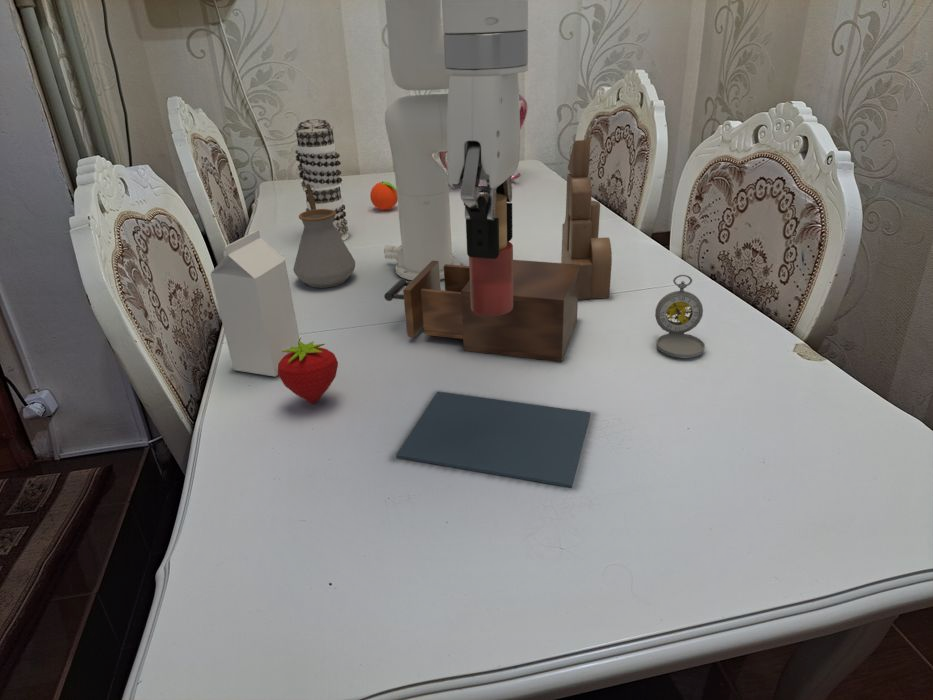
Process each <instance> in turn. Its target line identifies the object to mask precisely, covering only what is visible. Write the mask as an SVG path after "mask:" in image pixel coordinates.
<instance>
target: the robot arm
mask: <svg viewBox="0 0 933 700" xmlns="http://www.w3.org/2000/svg"><path fill="white" fill-rule="evenodd" d="M384 4H385V15H386V30H387V44H388V57H389V67H390V73H391V77H392V81H393V82H394V84H395V85H396V86H397V87H398V88H400V89H402V90H405V91H434V90H435V91H436V90H448V91H447V93H431V94H430V93H429V94H416V95H407V96H403V97H402V96H401V97H399V98H395V99H394V100H393V101H391V102H390V103H389V104H388V106H387V107H386V110H385V113H384V124H385V125H384V126H385V131H386V134H387V138H388V143H389V147H390V151H391V157H392V163H393V169H394V178H395V188H396V190H397V210H398V220H399V222H398V223H399V232H400V242H401V244H400V245H399V246H396V245H385V246H384V248H383V254H384V258H385V259H387V260H396V261H397V262H396V264H395V273H396V275H398V276H399V277H400V278H401V279H405V280H408V281H412V280H413V279H414V278H415V277H416V276H417V275H418V274H419V273H420V272H421V271H422V270H423V269H424V268H425V267H426V266H427V265H428V264H429V263H430V262H431V261H439V273H440V280H445V279H444V265H445V264H448V265H461V266H462V263H461V260H460V259H459V258H457V257H456V256H454V255H453V248H452V247H453V245H452V227H451V224H452V223H451V208H450V189H449V188H450V187H451V188H453V189H455V188H459V187H460V200H461V201H462V202H463V206H464V219H465V234H466V237H465V238H466V254H467V257H468V258H469V257H475V258H489V259H496V258H497V257H498V256H499V218H495V210H496V194H502V195H505V196H506V197H507V241H509V242H511V241H512V239H513V202H512V201H513V186H512V181H513V180H512V179H511V177H512V176H513V174H514V173H516V171H517V169H518V168H519V163H520V158H521V157H520V155H521V129H520V106H521V105H520V100H519V94H520V87H519V73H521V74H522V73H525V72H528V70H529V67H528V66H529V64H528V63H529V31H528V29H529V0H384ZM441 17H442V18H441ZM443 151H447V153H446V162H447V170H446V169H444V167H443V166H442V165H441V164H440V163H439V162H438V161H437V160H436V159H435V158H434V156H433V154H438V152H443ZM445 170H446V171H445ZM480 181H482V185H483V186H479V184H480ZM487 193H488V201H487V202H486V200H485V197H484V196H480V194H487Z"/></svg>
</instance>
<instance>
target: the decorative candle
mask: <svg viewBox="0 0 933 700" xmlns="http://www.w3.org/2000/svg"><path fill="white" fill-rule="evenodd" d="M333 129H335V127H334V126H332V125H331V124H330V123H329V121H327V120H326V119H320V118H319V119H318V118H317V119H315V118H314V119H306V120H302V121H300V122H299V123H298V125H297V128H296V129H294V132H295V135H296V142H297V146H296V147H297V150H294V153H295V154H296V155H295V160H296V161H297V162H298V163H299V164H298V165H297V168H298V169H297V170H298V171H299V173H298V174H299V178H300V179H302V182H301V188H303V187H304V186H305V185H307V184H309V185H313V186H314V187H315V189H314V187H313V186H311V189H312V190H314V191H313V193H312V194H313V196H314V198H315V205H316V209H329V210H333V211H336V212H337V213H336V215H335V217H334V220H333V225H334V227H335V228H336V230H337V232H338V233H339V235H340V237H341V238H342V240H343V241H346V240H347V239H348V238H349V233H348V231H349V227H348V226H347V225H348V220H347V219H346V218H345V217H347V212H346V211H344V210H346V205H345V204H344V202H343V196H342V192H341V186H342V181H343V179H342V177H340V176H341V175H342V171H341V170H339V169H338V167H339V166H340V165H341V164H342V162H341V161H340V160H338V159H339V158H340V157H341V154H339V153H338V152H336V149H337V148H336V142H335V139H334V138H335V137H334V132H333ZM306 190H307V188H306V186H305V187H304V192H305V191H306ZM305 198H306V200H305V204H306V208H305V212H306V211H309V210H311V208H310V204H309V201H308V194H307V192H305Z"/></svg>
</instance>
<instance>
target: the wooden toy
mask: <svg viewBox="0 0 933 700" xmlns="http://www.w3.org/2000/svg"><path fill="white" fill-rule="evenodd" d="M590 156H591V140H589V139H581V140H574V141H573V144H572V148H571V152H570V156H569V160H568V164H567V170H568V172H569V173H568V174H566V196H565V197H566V199H565V217H564V222H563V223H562V229H561V230H562V231H561V255H560V256H561V257H560V263H565V264H579V265H580V267H579V288H578V301H580V300H591V299H609V298H610V291H611V279H612V278H611V277H612V266H613V265H612V264H613V257H612V256H613V254H612V253H613V252H612V243H611V239H610V237H608V236H607V237H599V230H600V215H601V214H600V213H601V203H600V202H599V201H598V200H597V201H596V200H592V196H593V195H592V193H593V191H592V181H591V178H590V176H589V175H590Z"/></svg>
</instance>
